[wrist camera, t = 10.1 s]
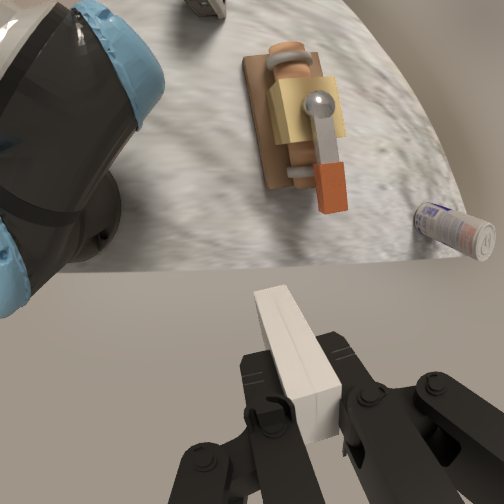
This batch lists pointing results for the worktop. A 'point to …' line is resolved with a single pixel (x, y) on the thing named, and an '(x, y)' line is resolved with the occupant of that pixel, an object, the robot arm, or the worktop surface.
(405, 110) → the worktop surface
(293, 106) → the valve manifold
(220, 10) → the electrical switch
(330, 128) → the valve lever
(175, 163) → the worktop surface
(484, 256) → the beverage can
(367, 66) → the worktop surface
